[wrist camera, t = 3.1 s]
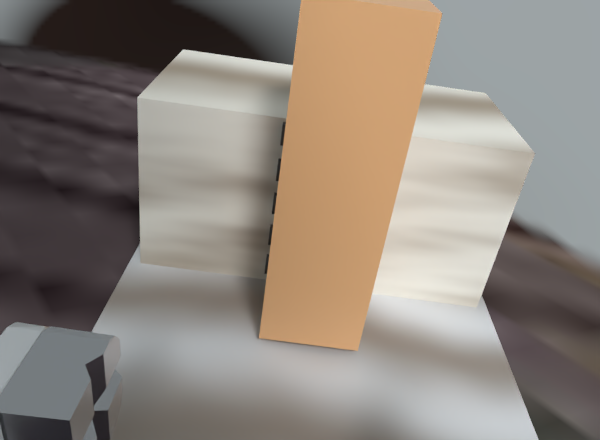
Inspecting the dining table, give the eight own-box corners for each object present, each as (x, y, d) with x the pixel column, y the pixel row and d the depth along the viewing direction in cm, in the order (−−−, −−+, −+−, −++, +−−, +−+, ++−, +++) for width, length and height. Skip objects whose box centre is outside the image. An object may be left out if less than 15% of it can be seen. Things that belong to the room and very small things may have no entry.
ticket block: (608, 677, 15) (813, 463, 10) (-39, 605, 14) (-133, 344, 9) (447, 232, 34) (492, 91, 29) (173, 195, 33) (175, 46, 29)
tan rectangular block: (357, 350, 22) (442, 13, 16) (258, 338, 22) (302, -8, 15) (353, 295, 25) (422, -6, 19) (267, 283, 25) (306, -23, 18)
